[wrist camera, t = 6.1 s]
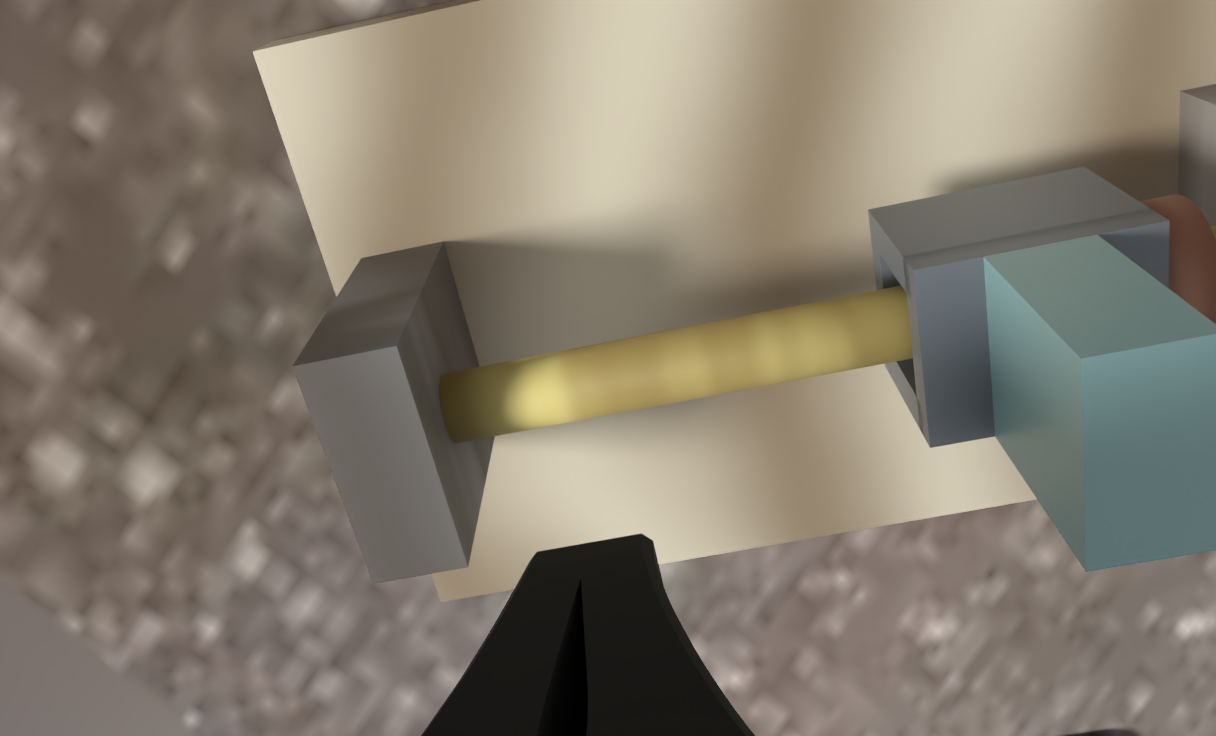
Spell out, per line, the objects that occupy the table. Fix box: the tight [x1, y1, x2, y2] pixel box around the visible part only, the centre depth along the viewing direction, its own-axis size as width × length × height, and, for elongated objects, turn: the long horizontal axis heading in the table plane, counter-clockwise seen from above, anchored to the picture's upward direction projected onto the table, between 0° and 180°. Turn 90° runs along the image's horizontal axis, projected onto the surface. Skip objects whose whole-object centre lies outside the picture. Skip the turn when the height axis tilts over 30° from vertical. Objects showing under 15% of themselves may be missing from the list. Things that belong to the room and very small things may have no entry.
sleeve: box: [868, 167, 1216, 572], centre depth 16 cm, size 4×3×6 cm
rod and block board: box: [253, 0, 1216, 602], centre depth 18 cm, size 18×12×6 cm, turn 102°
